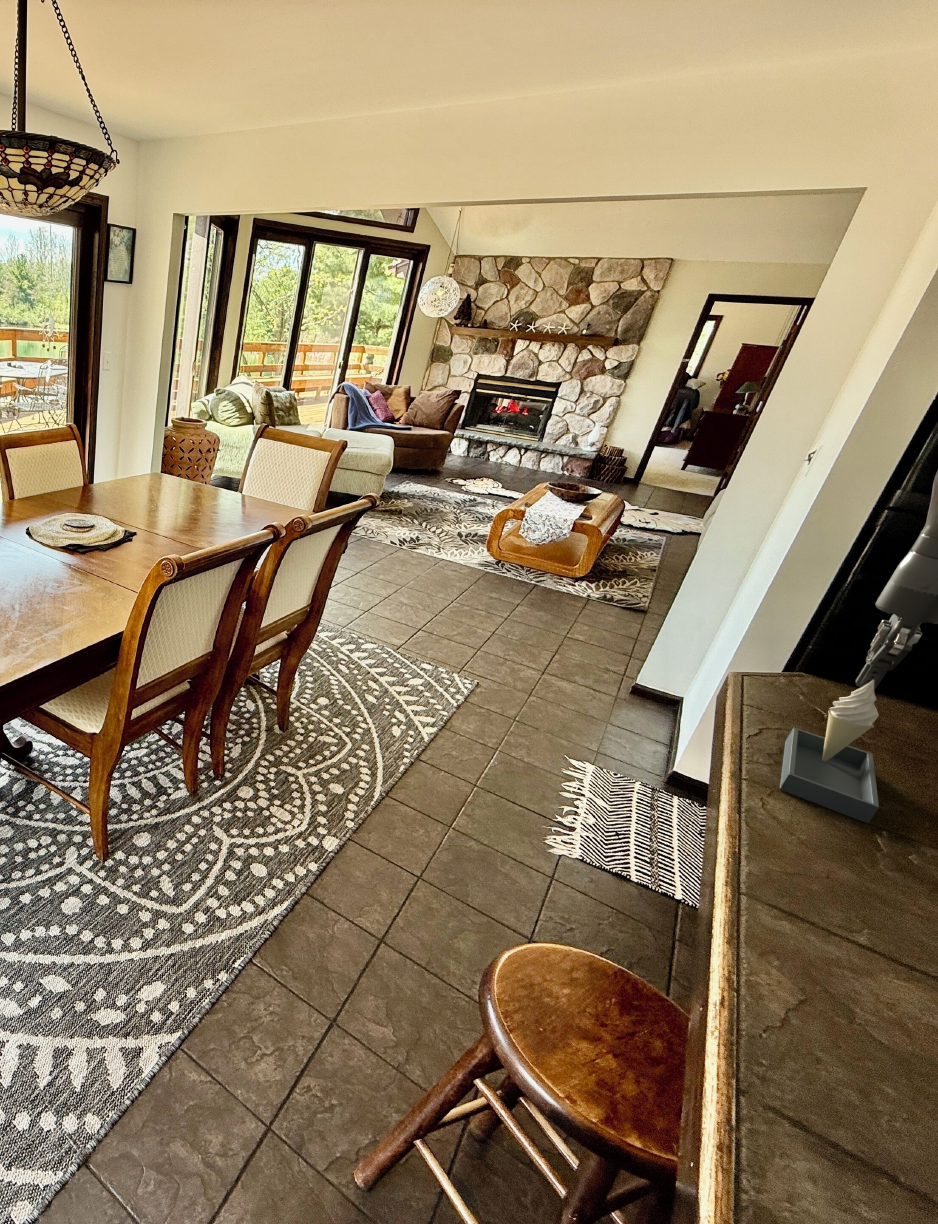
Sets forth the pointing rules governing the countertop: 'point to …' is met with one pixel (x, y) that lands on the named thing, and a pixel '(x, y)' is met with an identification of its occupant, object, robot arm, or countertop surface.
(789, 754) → the tray
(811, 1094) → the countertop surface
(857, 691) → the ice cream cone
